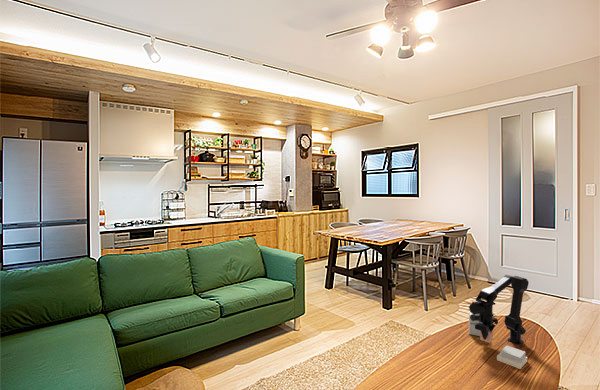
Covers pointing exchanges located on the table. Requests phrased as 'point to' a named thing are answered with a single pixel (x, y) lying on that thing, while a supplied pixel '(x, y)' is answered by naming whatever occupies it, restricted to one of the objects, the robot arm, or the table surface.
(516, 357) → the tower top
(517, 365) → the tower base
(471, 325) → the supplement box
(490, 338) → the cube
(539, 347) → the table surface
